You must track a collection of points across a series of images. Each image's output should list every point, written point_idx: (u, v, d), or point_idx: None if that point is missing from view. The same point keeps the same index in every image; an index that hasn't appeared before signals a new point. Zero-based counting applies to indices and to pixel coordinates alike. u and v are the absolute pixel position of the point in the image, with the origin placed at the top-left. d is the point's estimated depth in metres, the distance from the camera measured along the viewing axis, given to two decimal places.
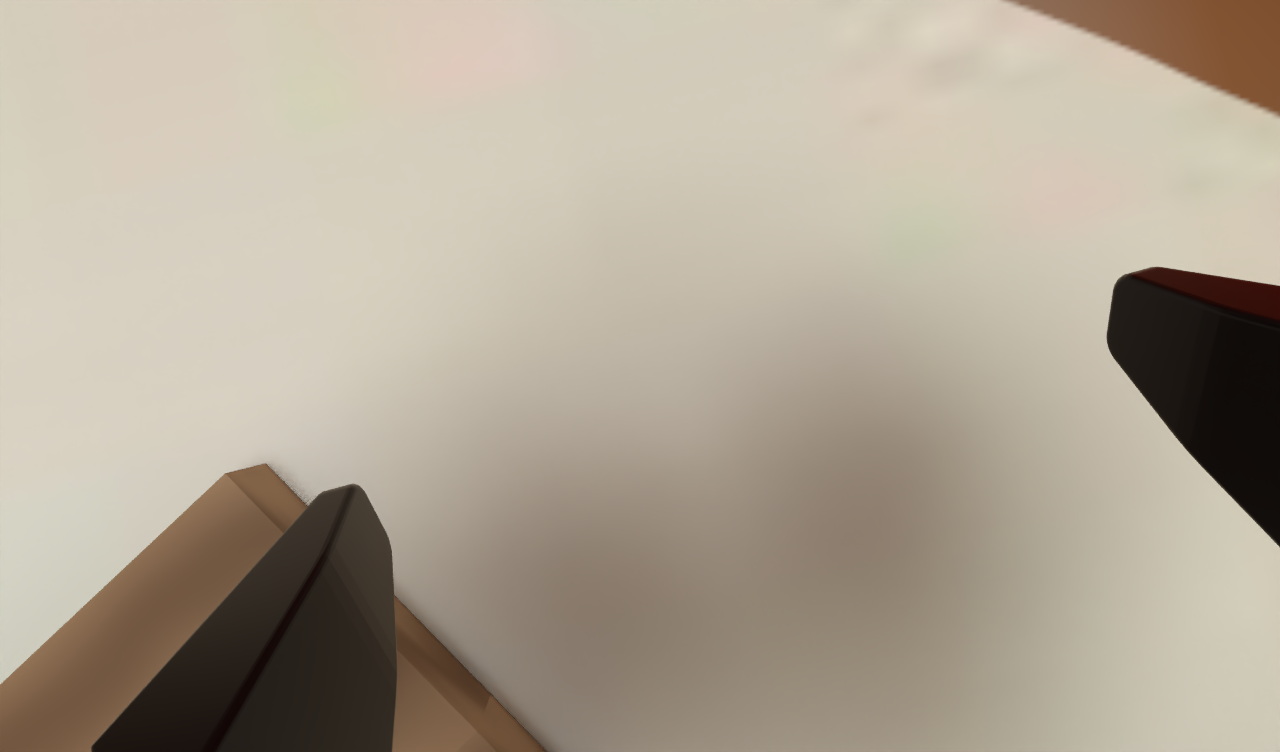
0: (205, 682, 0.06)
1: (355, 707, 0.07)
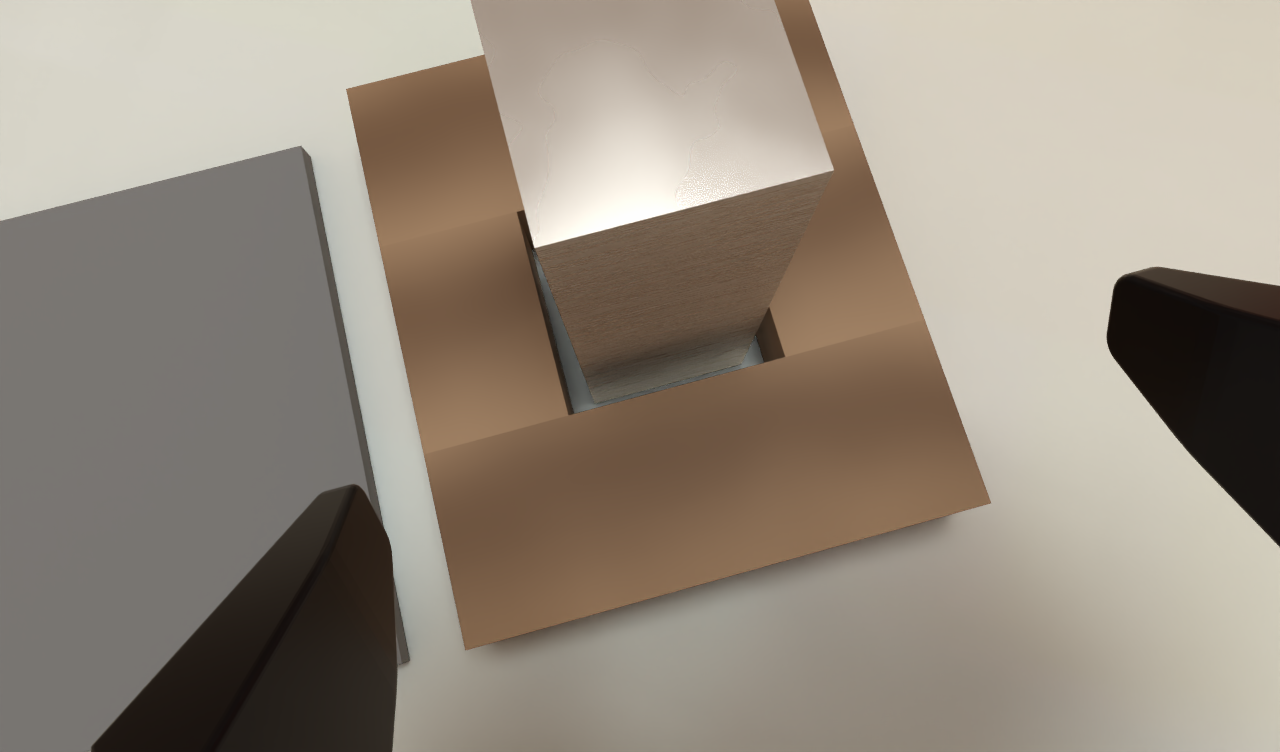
0: (205, 682, 0.06)
1: (355, 707, 0.07)
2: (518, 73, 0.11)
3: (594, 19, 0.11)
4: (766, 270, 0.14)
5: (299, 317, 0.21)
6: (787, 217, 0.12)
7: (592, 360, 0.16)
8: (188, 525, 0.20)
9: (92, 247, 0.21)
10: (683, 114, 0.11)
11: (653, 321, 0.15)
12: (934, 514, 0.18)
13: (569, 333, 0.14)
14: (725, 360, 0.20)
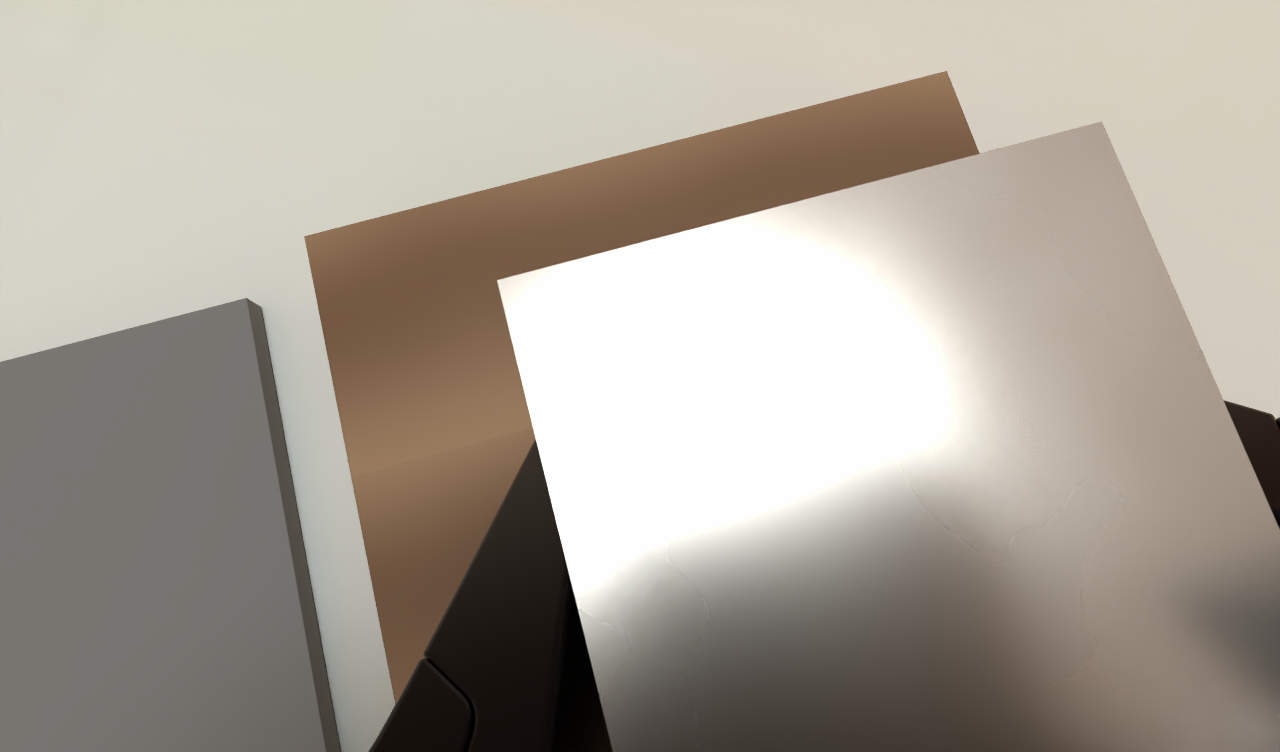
0: (518, 595, 0.06)
1: None
2: (617, 506, 0.05)
3: (785, 367, 0.05)
4: None
5: (241, 550, 0.15)
6: None
7: None
8: None
9: None
10: (1008, 613, 0.04)
11: None
12: None
13: None
14: None
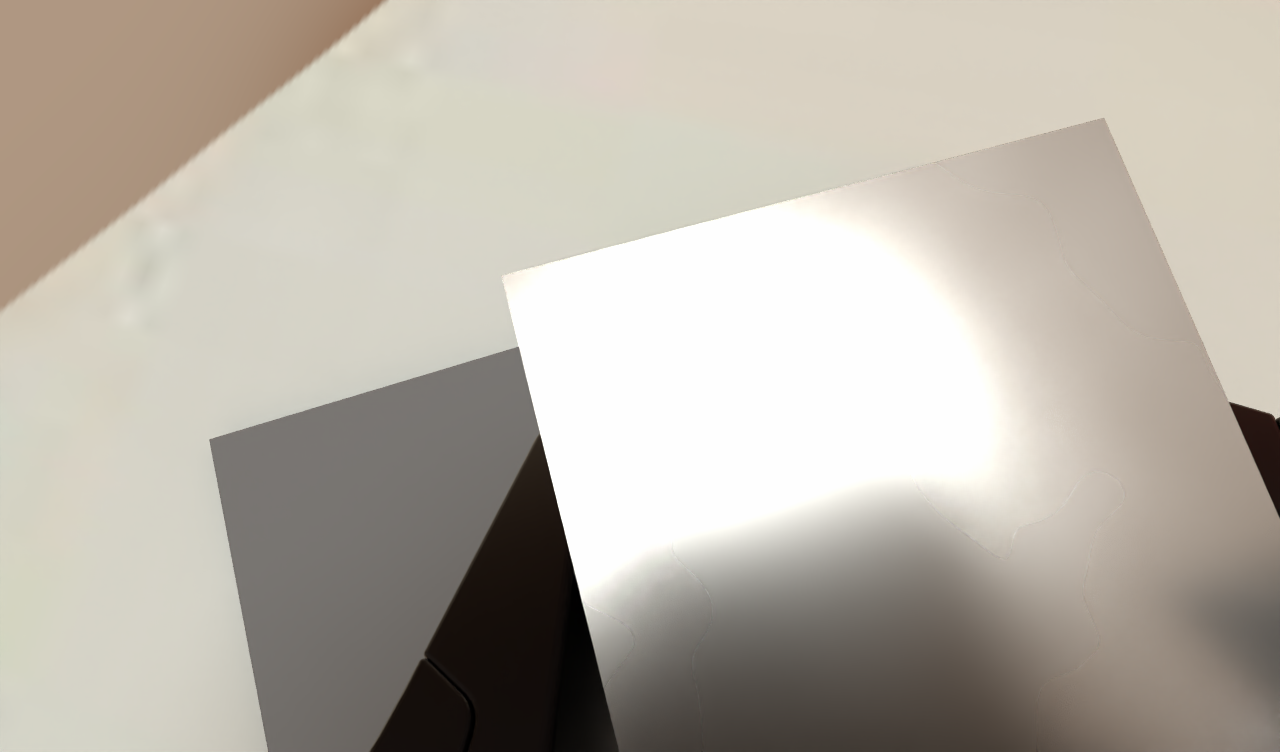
0: (518, 595, 0.06)
1: None
2: (622, 498, 0.05)
3: (789, 362, 0.05)
4: None
5: None
6: None
7: None
8: None
9: (359, 445, 0.22)
10: (1008, 607, 0.05)
11: None
12: None
13: None
14: None
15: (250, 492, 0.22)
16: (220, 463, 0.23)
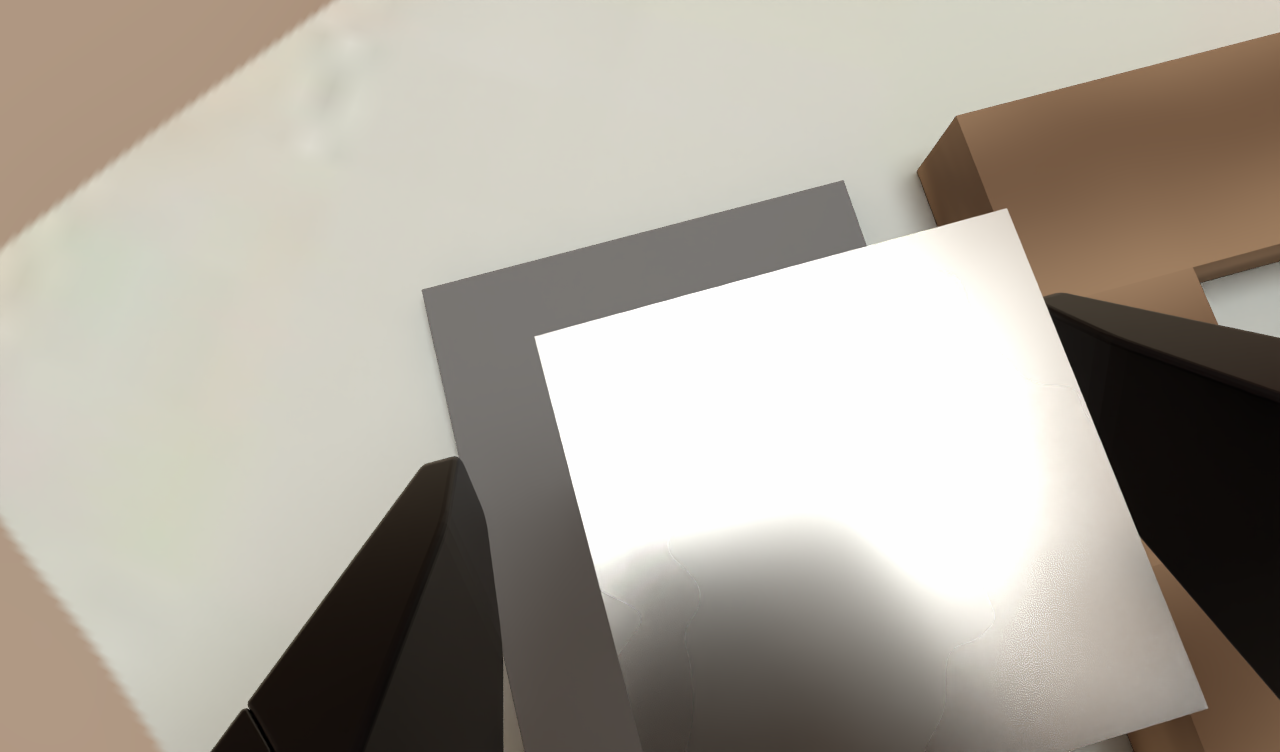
0: (352, 641, 0.06)
1: (474, 673, 0.07)
2: (630, 512, 0.06)
3: (759, 404, 0.06)
4: None
5: None
6: None
7: None
8: None
9: (611, 302, 0.18)
10: (928, 591, 0.06)
11: None
12: None
13: None
14: None
15: (475, 355, 0.18)
16: (436, 319, 0.18)
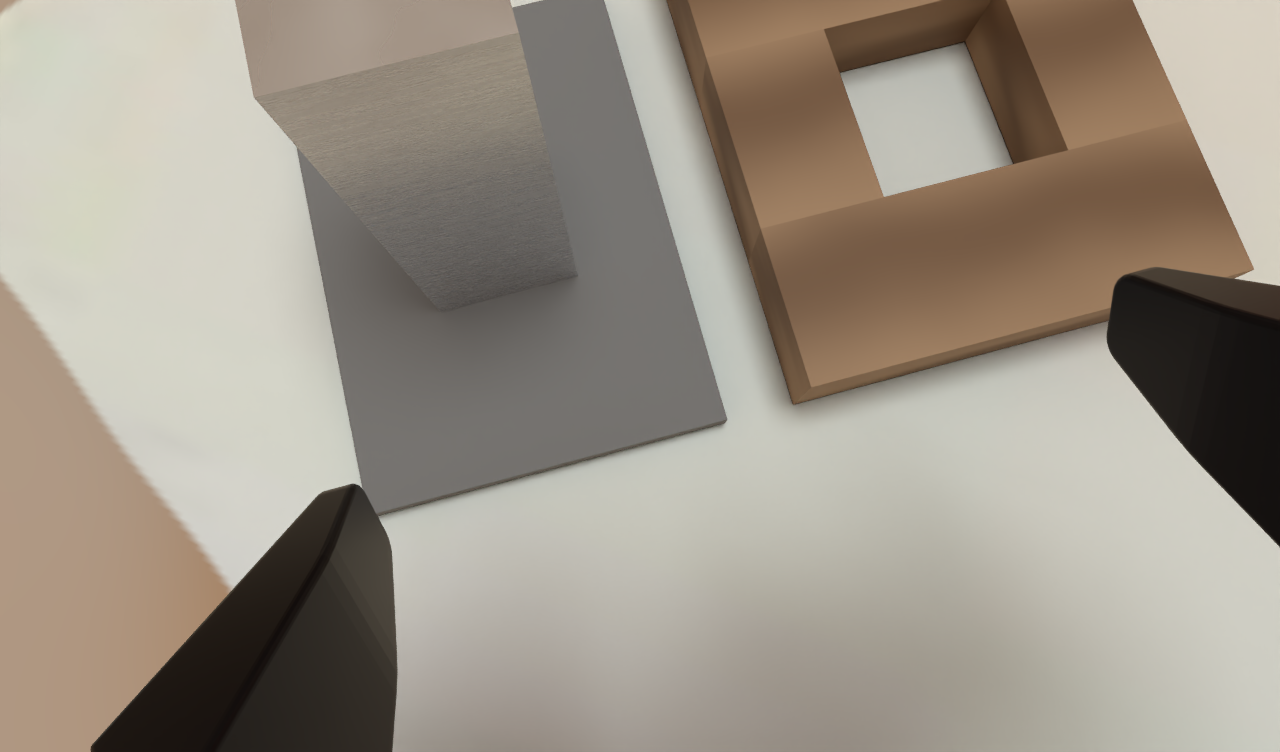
0: (205, 682, 0.06)
1: (355, 707, 0.07)
2: None
3: None
4: (525, 151, 0.15)
5: (611, 132, 0.24)
6: (505, 86, 0.13)
7: (401, 251, 0.18)
8: (528, 305, 0.22)
9: None
10: None
11: (440, 205, 0.16)
12: None
13: (355, 212, 0.16)
14: (556, 268, 0.22)
15: None
16: None
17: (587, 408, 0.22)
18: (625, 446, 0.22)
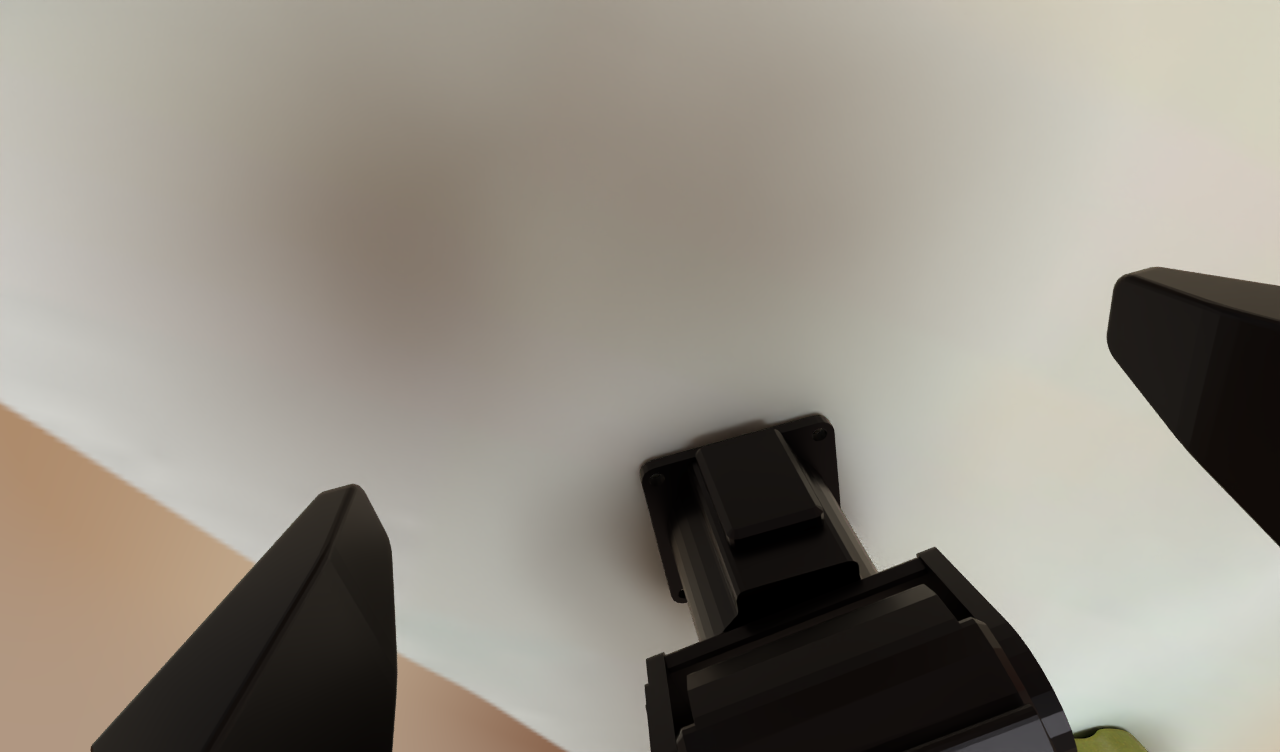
0: (205, 682, 0.06)
1: (355, 707, 0.07)
2: None
3: None
4: None
5: None
6: None
7: None
8: None
9: None
10: None
11: None
12: None
13: None
14: None
15: None
16: None
17: None
18: None
